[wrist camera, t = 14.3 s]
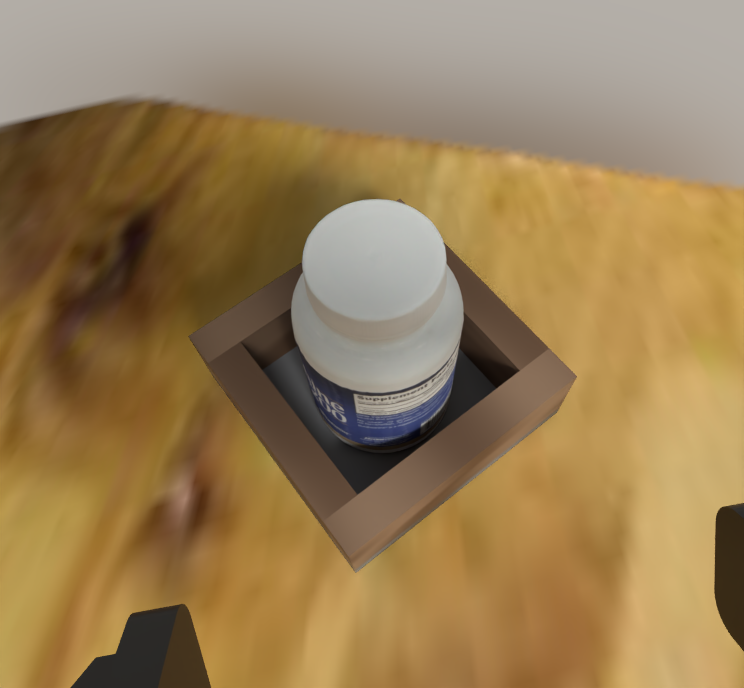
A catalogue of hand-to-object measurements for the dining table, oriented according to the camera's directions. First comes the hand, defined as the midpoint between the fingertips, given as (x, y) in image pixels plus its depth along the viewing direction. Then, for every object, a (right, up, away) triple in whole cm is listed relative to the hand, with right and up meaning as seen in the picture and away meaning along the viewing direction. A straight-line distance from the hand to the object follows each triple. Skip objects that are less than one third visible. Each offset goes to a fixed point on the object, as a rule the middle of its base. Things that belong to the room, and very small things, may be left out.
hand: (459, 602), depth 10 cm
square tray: (-1, +2, +18) cm, 18 cm away
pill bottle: (-1, +2, +17) cm, 18 cm away
